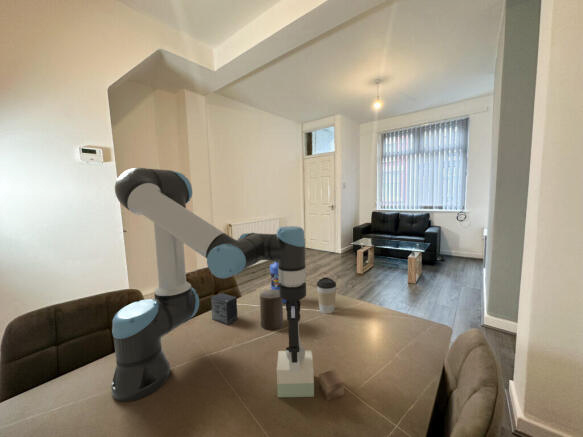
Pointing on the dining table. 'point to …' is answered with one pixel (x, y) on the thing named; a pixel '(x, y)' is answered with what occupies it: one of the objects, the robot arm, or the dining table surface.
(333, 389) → the brick
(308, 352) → the cream and green box
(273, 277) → the blue plastic bottle
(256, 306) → the dining table surface
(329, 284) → the coffee cup
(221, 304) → the small box
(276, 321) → the pillar candle
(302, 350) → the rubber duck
